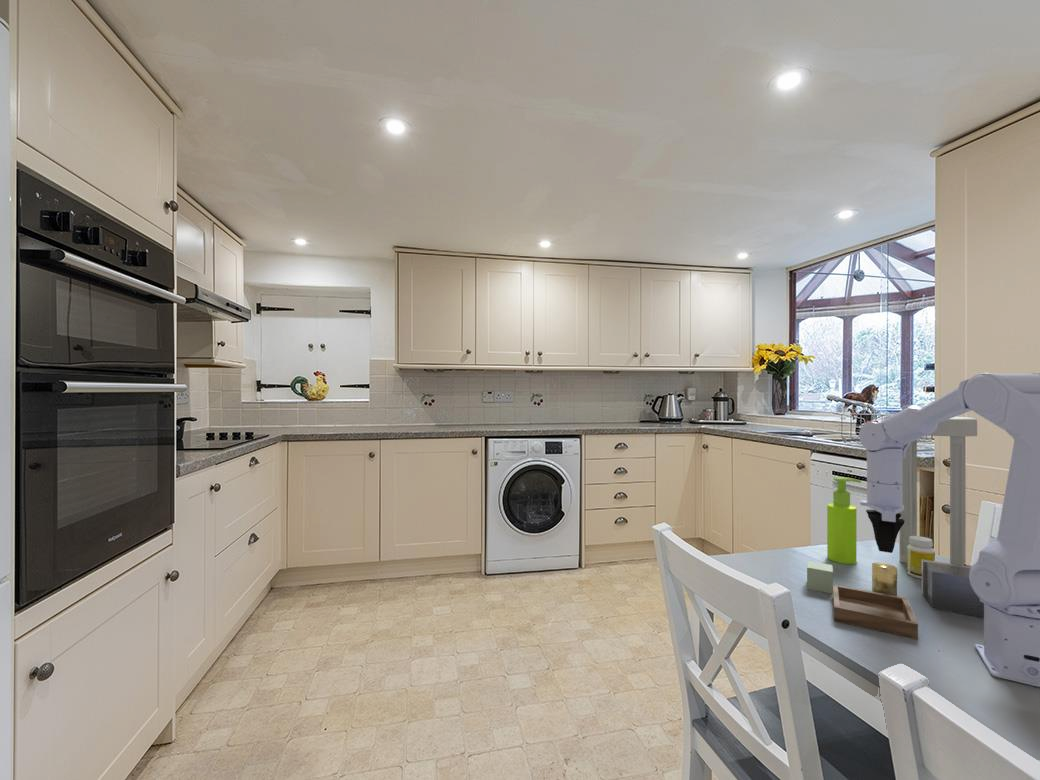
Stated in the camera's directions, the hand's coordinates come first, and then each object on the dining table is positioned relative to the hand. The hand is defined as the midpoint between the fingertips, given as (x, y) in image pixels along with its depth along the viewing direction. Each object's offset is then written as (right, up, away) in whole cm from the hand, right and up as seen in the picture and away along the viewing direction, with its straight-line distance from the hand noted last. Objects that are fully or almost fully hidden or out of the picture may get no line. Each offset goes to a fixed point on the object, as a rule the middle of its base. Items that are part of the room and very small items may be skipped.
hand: (884, 549), depth 95 cm
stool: (+26, -10, +19) cm, 34 cm away
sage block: (-10, -10, +4) cm, 15 cm away
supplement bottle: (+16, -10, +10) cm, 21 cm away
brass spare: (0, -9, 0) cm, 9 cm away
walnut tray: (-9, -9, -9) cm, 16 cm away
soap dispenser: (+6, -10, +20) cm, 23 cm away
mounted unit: (+10, -9, -5) cm, 15 cm away
